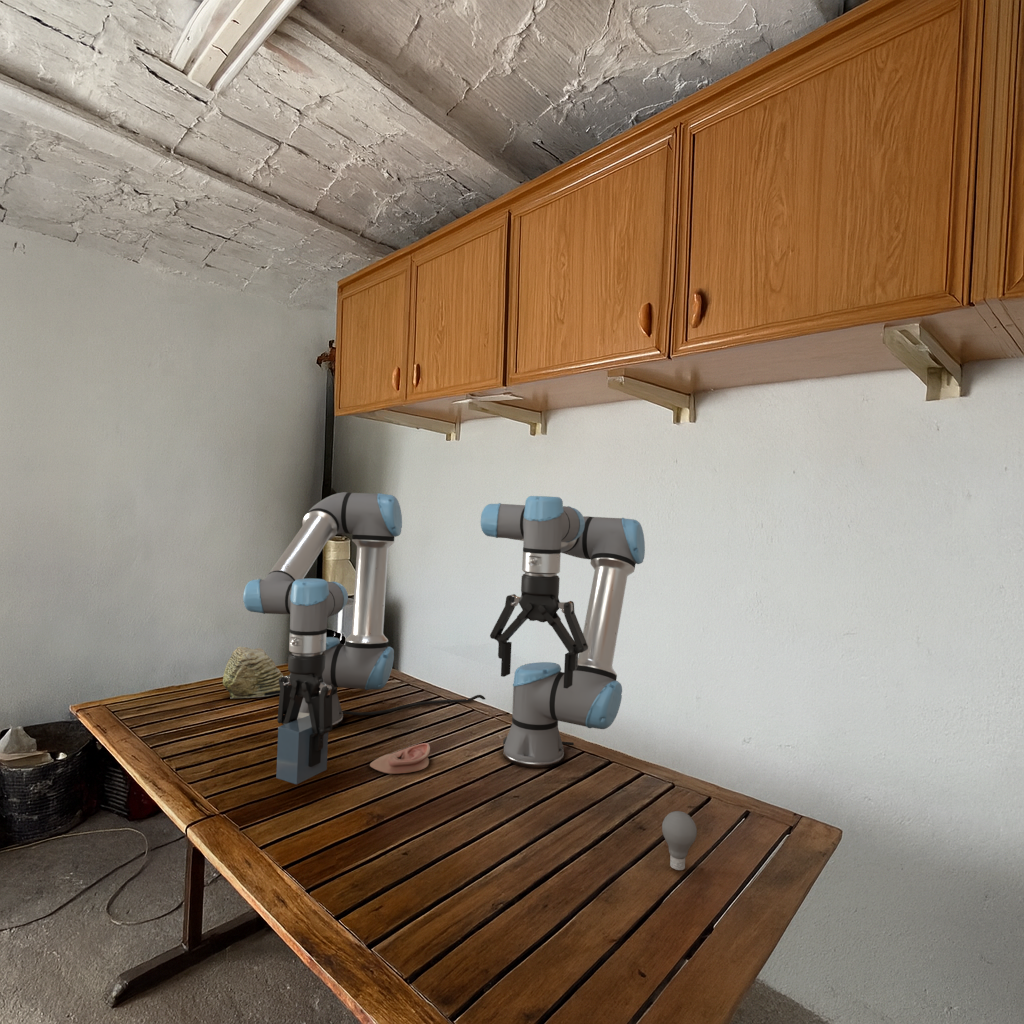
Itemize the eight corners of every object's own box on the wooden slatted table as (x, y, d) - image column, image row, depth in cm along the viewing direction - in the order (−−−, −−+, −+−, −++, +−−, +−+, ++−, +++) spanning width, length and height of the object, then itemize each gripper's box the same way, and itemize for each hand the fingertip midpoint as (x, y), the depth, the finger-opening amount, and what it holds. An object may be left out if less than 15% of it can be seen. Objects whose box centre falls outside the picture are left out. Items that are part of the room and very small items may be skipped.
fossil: (218, 695, 195) (220, 647, 195) (278, 685, 208) (279, 640, 207) (228, 703, 189) (230, 653, 188) (289, 692, 201) (290, 645, 201)
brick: (306, 763, 140) (308, 715, 139) (326, 769, 137) (328, 720, 137) (276, 778, 132) (278, 726, 132) (296, 784, 129) (298, 732, 129)
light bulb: (655, 859, 115) (658, 804, 115) (687, 858, 116) (690, 804, 116) (666, 878, 109) (669, 821, 109) (700, 878, 110) (702, 821, 110)
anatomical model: (364, 753, 147) (384, 735, 158) (364, 770, 147) (383, 751, 158) (419, 760, 144) (435, 742, 155) (418, 778, 144) (434, 758, 156)
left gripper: (261, 649, 135) (257, 757, 135) (328, 662, 127) (323, 777, 127) (288, 643, 142) (284, 746, 142) (353, 655, 133) (349, 764, 134)
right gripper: (476, 569, 127) (472, 674, 128) (594, 581, 116) (589, 696, 117) (494, 567, 134) (489, 666, 135) (607, 578, 123) (602, 686, 123)
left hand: (302, 760), depth 134 cm, fingers closed on brick, 6 cm apart
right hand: (535, 680), depth 126 cm, fingers open, 13 cm apart
